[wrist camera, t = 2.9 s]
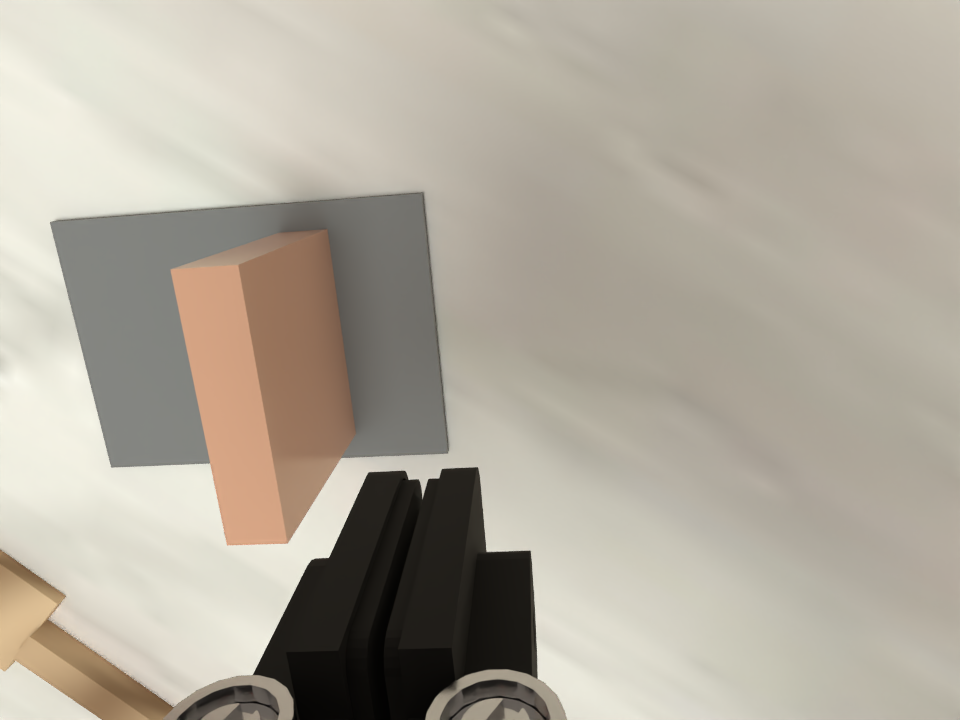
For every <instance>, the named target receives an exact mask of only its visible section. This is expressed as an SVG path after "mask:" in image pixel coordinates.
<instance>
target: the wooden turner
mask: <svg viewBox="0 0 960 720" xmlns="http://www.w3.org/2000/svg"><path fill="white" fill-rule="evenodd" d="M65 597H66V596H65V595H64V594H62V593H61V592H59V591H58V590H57V589H55V588H54V587H52V586H51V585H50V584H48V583H47V582H45V581H44V580H43V579H41V578H40V577H38V576H37V575H35V574H34V573H33V572H31V571H30V570H28V569H27V568H26V567H24V566H23V565H21V564H20V563H18V562H17V561H16V560H14V559H13V558H11V557H10V556H9V555H7V554H6V553H4V552H3V551H2V550H0V669H2V670H3V671H6V670H7V669H8V668H9V667H10V666H11V665H12V664H13V663H14V662H15V660H16V661H17V662H19V663H20V664H21V665H23V666H24V667H26V668H27V669H29V670H30V671H32V672H33V673H35V674H36V675H38V676H39V677H40V678H42V679H43V680H45V681H46V682H48V683H49V684H51V685H52V686H54V687H55V688H57V689H58V690H59V691H61V692H62V693H64V694H65V695H67V696H68V697H70V698H71V699H73V700H74V701H76V702H77V703H78V704H80V705H81V706H83V707H84V708H86V709H87V710H89V711H90V712H92V713H93V714H95V715H96V716H97V717H99V718H100V719H102V720H163V718H164V717H165V716H166V715H167V714H168V713H169V712H170V711H171V710H172V709H173V708H174V707H172V706H171V705H169V704H168V703H167V702H165V701H164V700H162V699H161V698H159V697H158V696H157V695H155V694H154V693H152V692H151V691H149V690H148V689H147V688H145V687H144V686H142V685H141V684H139V683H138V682H136V681H135V680H134V679H132V678H131V677H129V676H128V675H126V674H125V673H124V672H122V671H121V670H119V669H118V668H116V667H115V666H114V665H112V664H111V663H109V662H108V661H106V660H105V659H104V658H102V657H101V656H99V655H98V654H96V653H95V652H94V651H92V650H91V649H89V648H88V647H86V646H85V645H84V644H82V643H81V642H79V641H78V640H76V639H75V638H74V637H72V636H71V635H69V634H68V633H66V632H65V631H64V630H62V629H61V628H59V627H58V626H56V625H55V624H53V623H52V622H51V621H49V620H48V618H49V617H50V616H51V614H52V613H53V612H54V611H55V609H56V608H57V607H58V606H59V604H60V603H61V602H62V600H63V599H64V598H65Z"/></svg>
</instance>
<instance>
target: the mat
mask: <svg viewBox="0 0 960 720" xmlns="http://www.w3.org/2000/svg"><path fill="white" fill-rule="evenodd" d="M50 224H51V228H52V232H53V236H54V240H55V244H56V248H57V252H58V256H59V260H60V264H61V268H62V272H63V276H64V280H65V284H66V288H67V292H68V296H69V300H70V304H71V308H72V312H73V316H74V320H75V324H76V328H77V332H78V336H79V340H80V344H81V348H82V352H83V356H84V360H85V364H86V368H87V372H88V376H89V380H90V384H91V388H92V392H93V396H94V400H95V404H96V408H97V412H98V416H99V420H100V424H101V428H102V432H103V436H104V440H105V444H106V448H107V452H108V456H109V460H110V464H111V467H134V466H158V465H182V464H206V463H210V460H209V455H208V450H207V445H206V440H205V435H204V430H203V426H202V421H201V416H200V411H199V406H198V401H197V396H196V392H195V387H194V382H193V377H192V372H191V367H190V362H189V358H188V353H187V348H186V343H185V338H184V333H183V328H182V324H181V319H180V314H179V309H178V304H177V299H176V294H175V290H174V285H173V280H172V275H171V270H170V269H173V268H176V267H179V266H182V265H185V264H188V263H191V262H194V261H197V260H200V259H203V258H206V257H209V256H212V255H215V254H218V253H220V252H223V251H226V250H229V249H232V248H235V247H238V246H241V245H244V244H247V243H250V242H253V241H256V240H259V239H262V238H265V237H268V236H271V235H274V234H277V233H281V232H295V231H308V230H322V229H327V230H328V237H329V244H330V251H331V258H332V266H333V273H334V280H335V287H336V294H337V301H338V309H339V316H340V323H341V330H342V337H343V344H344V352H345V359H346V366H347V373H348V380H349V388H350V395H351V402H352V409H353V416H354V423H355V431H356V435H355V436H354V438H353V439H352V441H351V443H350V444H349V446H348V447H347V449H346V451H345V452H344V454H343V455H342V457H341V458H351V457H375V456H399V455H423V454H447V453H448V440H447V430H446V420H445V410H444V400H443V390H442V380H441V370H440V360H439V350H438V340H437V330H436V320H435V310H434V300H433V290H432V280H431V270H430V260H429V250H428V239H427V229H426V219H425V209H424V199H423V193H413V194H400V195H387V196H374V197H362V198H349V199H336V200H323V201H310V202H297V203H284V204H271V205H258V206H245V207H232V208H219V209H206V210H193V211H181V212H168V213H155V214H142V215H129V216H116V217H103V218H90V219H77V220H64V221H53V222H50Z"/></svg>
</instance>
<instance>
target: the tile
mask: <svg viewBox="0 0 960 720" xmlns="http://www.w3.org/2000/svg"><path fill="white" fill-rule="evenodd" d="M170 270H171V275H172V280H173V285H174V290H175V294H176V299H177V304H178V309H179V314H180V319H181V324H182V328H183V333H184V338H185V343H186V348H187V353H188V358H189V362H190V367H191V372H192V377H193V382H194V387H195V392H196V396H197V401H198V406H199V411H200V416H201V421H202V426H203V430H204V435H205V440H206V445H207V450H208V455H209V460H210V464H211V469H212V474H213V479H214V484H215V489H216V494H217V498H218V503H219V508H220V513H221V518H222V523H223V528H224V532H225V537H226V542H227V545H253V544H286V543H288V542H289V541H290V539H291V537H292V536H293V534H294V533H295V531H296V529H297V528H298V526H299V525H300V523H301V521H302V520H303V518H304V516H305V515H306V513H307V512H308V510H309V508H310V507H311V505H312V504H313V502H314V500H315V499H316V497H317V496H318V494H319V492H320V491H321V489H322V488H323V486H324V484H325V483H326V481H327V480H328V478H329V476H330V475H331V473H332V472H333V470H334V468H335V467H336V465H337V464H338V462H339V460H340V459H341V457H342V455H343V454H344V452H345V451H346V449H347V447H348V446H349V444H350V443H351V441H352V439H353V438H354V436H355V435H356V431H355V423H354V416H353V409H352V402H351V395H350V388H349V380H348V373H347V366H346V359H345V352H344V344H343V337H342V330H341V323H340V316H339V309H338V301H337V294H336V287H335V280H334V273H333V266H332V258H331V251H330V244H329V237H328V230H327V229H322V230H308V231H295V232H281V233H277V234H274V235H271V236H268V237H265V238H262V239H259V240H256V241H253V242H250V243H247V244H244V245H241V246H238V247H235V248H232V249H229V250H226V251H223V252H220V253H218V254H215V255H212V256H209V257H206V258H203V259H200V260H197V261H194V262H191V263H188V264H185V265H182V266H179V267H176V268H173V269H170Z"/></svg>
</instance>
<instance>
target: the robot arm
mask: <svg viewBox="0 0 960 720" xmlns="http://www.w3.org/2000/svg"><path fill="white" fill-rule="evenodd" d="M163 720H567V718H566V714H565V711H564V709H563V707H562V705H561V702H560V700H559V698H558V696H557V695H556V694H555V693H554V692H553V691H552V690H551V689H550V688H549V687H548V686H547V685H546V684H545V683H544V682H542V681H540V680H538V678H537V645H536V623H535V605H534V590H533V575H532V561H531V551H509V552H486V542H485V530H484V519H483V508H482V497H481V485H480V475H479V470H478V467H475V468H453V469H442V471H441V474H440V478H439V479H428V482H427V486H426V489H425V493H424V497H423V499H422V491H421V485H420V481H419V479H418V480H408V477H407V473H406V472H405V471H389V472H369V473H368V475H367V476H366V479H365V481H364V483H363V485H362V487H361V489H360V492H359V494H358V496H357V498H356V500H355V503H354V505H353V507H352V509H351V511H350V513H349V516H348V518H347V520H346V522H345V524H344V527H343V529H342V531H341V533H340V535H339V538H338V540H337V542H336V544H335V546H334V548H333V551H332V553H331V555H330V557H329V558H319V559H314V560H311V562H310V563H309V565H308V566H307V568H306V570H305V572H304V574H303V576H302V578H301V580H300V582H299V584H298V586H297V588H296V590H295V592H294V594H293V596H292V598H291V600H290V602H289V604H288V606H287V608H286V610H285V612H284V614H283V616H282V618H281V620H280V622H279V624H278V626H277V628H276V630H275V632H274V634H273V636H272V638H271V640H270V642H269V644H268V646H267V648H266V650H265V652H264V654H263V656H262V658H261V660H260V662H259V664H258V666H257V668H256V670H255V672H254V674H253V675H247V676H236V677H232V678H228V679H224V680H219V681H217V682H215V683H212V684H210V685H208V686H206V687H203V688H201V689H199V690H197V691H196V692H194V693H193V694H191V695H190V696H188V697H187V698H185V699H184V700H182V701H181V702H179V703H178V704H177V705H176V706H175V707H174V708H173V709H172V710H171V711H170V712H169V713H168V714H167V715H166V716H165V717H164V718H163Z"/></svg>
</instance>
